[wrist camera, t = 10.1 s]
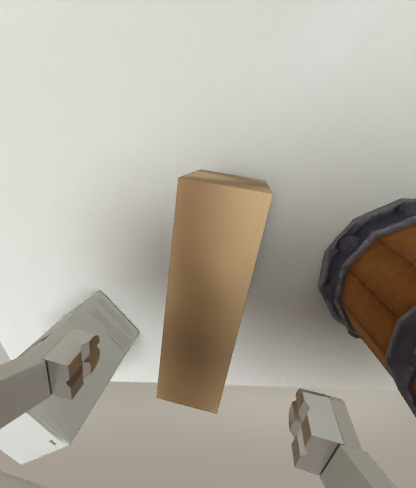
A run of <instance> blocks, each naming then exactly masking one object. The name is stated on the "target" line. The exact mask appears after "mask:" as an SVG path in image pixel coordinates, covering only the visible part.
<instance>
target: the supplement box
mask: <svg viewBox="0 0 416 488" xmlns="http://www.w3.org/2000/svg"><path fill="white" fill-rule="evenodd" d="M62 326H68V327H71V328H75V329H79V330H82V331H85V332H89V333H92V334H95V335H98V336H99V340H100V342H99V343H98V345H97V347H98V348H99V349H100V357H99V361H98V363H97V365H96V368H95V369H94V370H93V372H92V373H91V374H90V375H88V376H86V377H85V378H84V384H83V386H82V387H81V388H80V390H79V391H78V392H77V394H76V395H75V397H74V398H73V399H72V400H69V399H65V398H62V397H58V396H54V395H51V396H50V397H49V398H47V399H46V400H44V401H43V402H41V403H40V404H38V405H36V406H35V407H33V408H32V409H30V410H29V411H27V412H26V413H24V414H23V415H21V416H20V417H18V418H16V419H15V420H13V421H12V422H10V423H9V424H7V425H6V426H4V427H3V428H1V429H0V449H1V450H2V451H3V452H5V453H6V454H7V455H9V456H10V457H11V458H13V459H14V460H16V461H17V462H18V463H20V464H25V463H28V462H30V461H32V460H35V459H37V458H39V457H42V456H45V455H48V454H50V453H52V452H54V451H57V450H59V449H62V448H64V447H67V446H69V445H70V444H71V443H72V441H73V439H74V438H75V436H76V435H77V433H78V431H79V430H80V428H81V426H82V425H83V423H84V421H85V420H86V418H87V417H88V415H89V413H90V412H91V410H92V408H93V407H94V405H95V404H96V402H97V400H98V399H99V397H100V396H101V394H102V392H103V391H104V389H105V387H106V386H107V384H108V383H109V381H110V379H111V378H112V376H113V374H114V373H115V371H116V369H117V368H118V366H119V365H120V363H121V361H122V360H123V358H124V356H125V355H126V353H127V352H128V350H129V348H130V347H131V345H132V344H133V342H134V340H135V339H136V337H137V335H138V334H139V331H138V330H137V329H136V328H135V327H134V326H133V325H132V324H131V323H130V322H129V321H128V320H127V318H126V317H125V316H124V315H123V314H122V313H121V312H120V311H119V310H118V309H117V308H116V307H115V306H114V304H113V303H112V302H111V301H110V300H109V299H108V298H107V297H106V296H105V295H104V294H103V293H102V292H101V291H98V292H97V293H96V294H94V295H93V296H92V297H91V298H89V299H88V300H87V301H85V302H84V303H83V304H81V305H80V306H79V307H77V308H76V309H74V310H73V311H72V312H70V313H69V314H67V315H65V316H64V317H63V318H62V319H61V320H60V321H58V322H57V323H56V324H55V325H54V326H53V327H52V328H51V329H49V330H48V331H47V332H46V333H45V334H44V335H43V336H41V337H40V338H39V339H38V340H37V341H36V342H35V343H33V344H32V345H31V346H30V347H29V348H28V349H27V350H25V351H24V352H23V353H22V354H21V355H20V356H19V357H21V356H24V355H28V356H29V355H30V354H31V353H32V352H33V351H35V350H36V349H37V348H38V347H39V346H40V345H41V344H42V343H43V342H44V341H46V340H47V339H48V338H49V337H50V336H51V335H52V334H53V333H54V332H55V331H57V330H58V329H59V328H60V327H62ZM19 357H18V358H19Z"/></svg>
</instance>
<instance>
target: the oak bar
mask: <svg viewBox="0 0 416 488" xmlns="http://www.w3.org/2000/svg"><path fill="white" fill-rule="evenodd" d="M272 196H273V194H272V192H271V190H270V189H269V187H268V185H267V183H266V182H265V181H264V180H258V179H252V178H246V177H240V176H235V175H229V174H223V173H217V172H212V171H206V170H198V171H195V172H192V173H190V174H187V175H184V176H182V177H179V178H178V187H177V197H176V207H175V217H174V227H173V237H172V248H171V258H170V268H169V278H168V288H167V298H166V308H165V318H164V328H163V338H162V348H161V358H160V368H159V378H158V388H157V398H159V399H163V400H167V401H170V402H174V403H178V404H182V405H185V406H189V407H193V408H196V409H200V410H204V411H208V412H212V413H215V414H217V412H218V408H219V404H220V400H221V396H222V392H223V388H224V384H225V381H226V377H227V373H228V369H229V365H230V361H231V357H232V353H233V349H234V345H235V341H236V337H237V333H238V329H239V326H240V322H241V318H242V314H243V310H244V306H245V302H246V298H247V294H248V290H249V286H250V282H251V278H252V275H253V271H254V267H255V263H256V259H257V255H258V251H259V247H260V243H261V239H262V235H263V231H264V227H265V223H266V220H267V216H268V212H269V208H270V204H271V200H272Z"/></svg>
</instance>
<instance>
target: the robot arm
mask: <svg viewBox="0 0 416 488" xmlns="http://www.w3.org/2000/svg"><path fill="white" fill-rule="evenodd" d="M99 342H100V340H99V336H98V335H95V334H92V333H89V332H85V331H82V330H79V329H75V328H71V327H68V326H62V327H60V328H59V329H58V330H57V331H55V332H54V333H53V334H52V335H51V336H50V337H49V338H48V339H47V340H46V341H44V342H43V343H42V344H41V345H40V346H39V347H38V348H37V349H36V350H35V351H33V352H32V353H31V354H30V355H29V356H28V355H24V356H21V357H19V358H16V359H14V360H11V361H9V362H7V363H4V364H2V365H0V429H1V428H3V427H4V426H6V425H7V424H9V423H10V422H12V421H13V420H15V419H16V418H18V417H20V416H21V415H23V414H24V413H26V412H27V411H29V410H30V409H32V408H33V407H35V406H36V405H38V404H40V403H41V402H43V401H44V400H46V399H47V398H49V397H50V396H51V395H54V396H58V397H62V398H65V399H69V400H72V399H73V398H74V397H75V395H76V394H77V392H78V391H79V390H80V388H81V387H82V386H83V384H84V378H85V377H86V376H88V375H90V374H91V373H92V372H93V370H94V369H95V368H96V365H97V363H98V361H99V357H100V349H99V348H98V347H97V345H98V343H99ZM289 427H290V432H291V433H292V435H293V436H294V438H295V439H294V441H293V443H292V451H293V458H294V466H295V467H296V468H299V469H302V470H305V471H308V472H311V473H314V474H317V475H320V478H321V480H322V482H323V484H324V486H325V487H326V488H396V486H395V485H394V484H393V483H392V482H391V480H390V479H389V478H388V477H387V476H386V474H385V473H384V472H383V471H382V470H381V468H380V467H379V466H378V465H377V464H376V462H374V460H373V459H372V458H371V456H370V455H369V454H368V453H367V452H365V451H362V449H361V446H360V443H359V441H358V438H357V435H356V433H355V430H354V427H353V424H352V422H351V419H350V416H349V414H348V411H347V408H346V406H345V403H344V401H343V400H342V399H339V398H335V397H331V396H327V395H325V394H320V393H316V392H312V391H309V390H304V389H301V388H300V389H298V391H297V393H296V401H294V402H292V404H291V407H290V411H289ZM0 488H48V487H45V486H42V485H39V484H36V483H34V482H31V481H28V480H25V479H22V478H19V477H16V476H13V475H11V474H8V473H5V472H2V471H0Z"/></svg>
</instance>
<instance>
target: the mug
mask: <svg viewBox="0 0 416 488" xmlns="http://www.w3.org/2000/svg"><path fill="white" fill-rule="evenodd" d="M318 287H319V289H320V292H321V294H322V296H323V298H324V300H325V302H326V304H327V306H328V308H329V310H330V312H331V314H332V316H333V318H334V319H335V320H337V321H339V322H340V323H342V324H344V325H345V326H346V328H347V330H348V333H349V334H350V335H352V336H353V337H355V338H362V339H363V341H364V342H365V343H366V345H367V346H368V347H369V348H370V350H371V351H372V352H373V353H374V355H375V356H376V357H377V358H378V360H379V361H380V362H381V364H382V365H383V366H384V367H385V369H386V370H387V371H388V372H389V374H390V375H391V376H392V377H393V379H394V381H395V383H396V385H397V388H398V390H399V391H400V393H401V395H402V396H403V398H404V399H405V401H406V402H407V404H408V406H409V407H410V409H411V410H412V412H413V414H414V415H415V417H416V199H399V200H397V201H394V202H392V203H390V204H387V205H385V206H383V207H380V208H378V209H376V210H373V211H371V212H369V213H366V214H364V215H362V216H360V217H357V218H355V219H353V221H352V222H351V223H350V224H349V225H348V226H347V227H346V228H345V229H344V231H343V232H342V233H341V234H340V235H339V236H338V237H337V238H336V240H335V241H334V242H333V243H332V244H331V245H330V246H329V247H328V249H327V250H326V251H325V253H324V258H323V263H322V268H321V273H320V279H319V284H318Z"/></svg>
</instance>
